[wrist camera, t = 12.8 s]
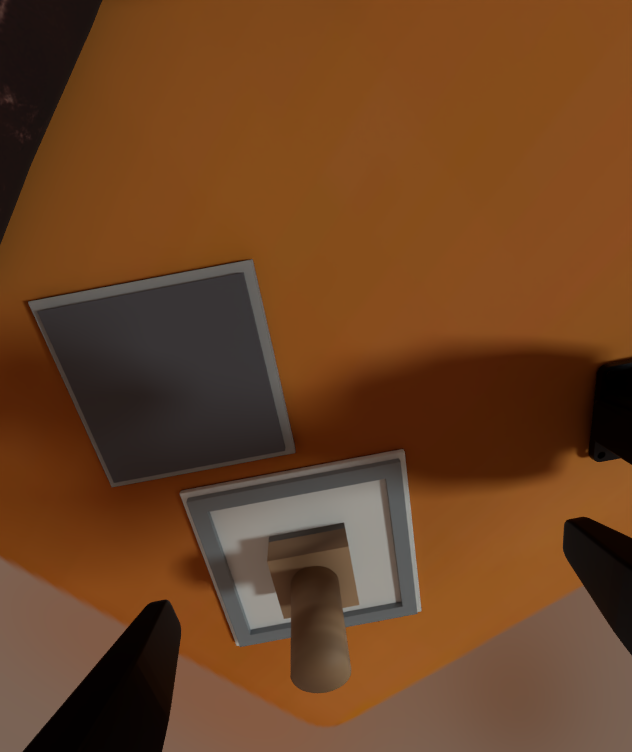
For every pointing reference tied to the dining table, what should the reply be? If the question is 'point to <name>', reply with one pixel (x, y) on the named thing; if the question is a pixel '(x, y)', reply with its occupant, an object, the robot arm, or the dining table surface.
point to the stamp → (315, 602)
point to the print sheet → (301, 512)
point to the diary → (34, 80)
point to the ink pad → (171, 372)
